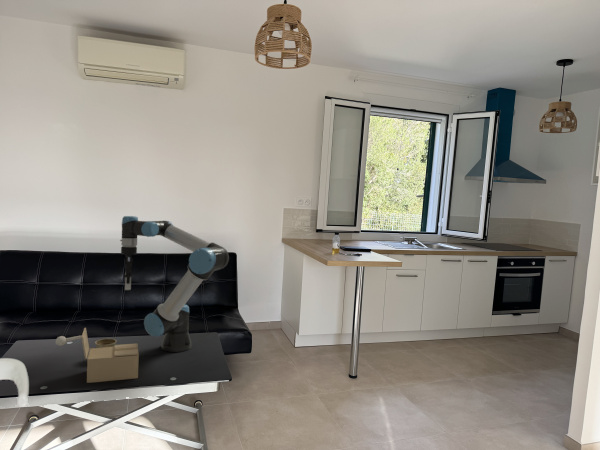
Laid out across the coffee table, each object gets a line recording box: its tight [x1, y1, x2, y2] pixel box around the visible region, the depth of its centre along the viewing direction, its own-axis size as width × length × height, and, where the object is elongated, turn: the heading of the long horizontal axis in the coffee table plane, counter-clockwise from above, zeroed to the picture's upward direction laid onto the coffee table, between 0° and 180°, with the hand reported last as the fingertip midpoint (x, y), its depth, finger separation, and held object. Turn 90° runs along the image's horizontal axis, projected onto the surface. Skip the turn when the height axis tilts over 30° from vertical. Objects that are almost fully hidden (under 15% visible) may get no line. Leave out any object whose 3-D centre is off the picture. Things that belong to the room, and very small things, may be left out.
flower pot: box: [94, 338, 118, 348], centre depth 209 cm, size 9×9×9 cm
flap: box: [55, 327, 90, 360], centre depth 186 cm, size 10×14×11 cm
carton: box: [86, 343, 140, 384], centre depth 192 cm, size 20×14×11 cm
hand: (127, 287), depth 225 cm, fingers open, 13 cm apart
